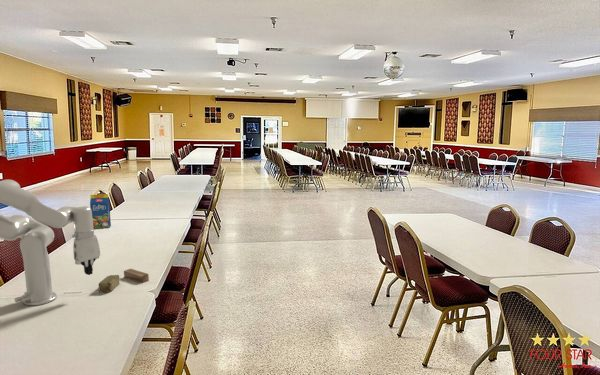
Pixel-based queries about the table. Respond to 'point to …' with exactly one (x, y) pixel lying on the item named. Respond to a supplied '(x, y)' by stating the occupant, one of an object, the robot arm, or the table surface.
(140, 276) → the brown rectangular bar
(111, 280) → the stone block
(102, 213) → the blue food package
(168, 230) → the table surface
